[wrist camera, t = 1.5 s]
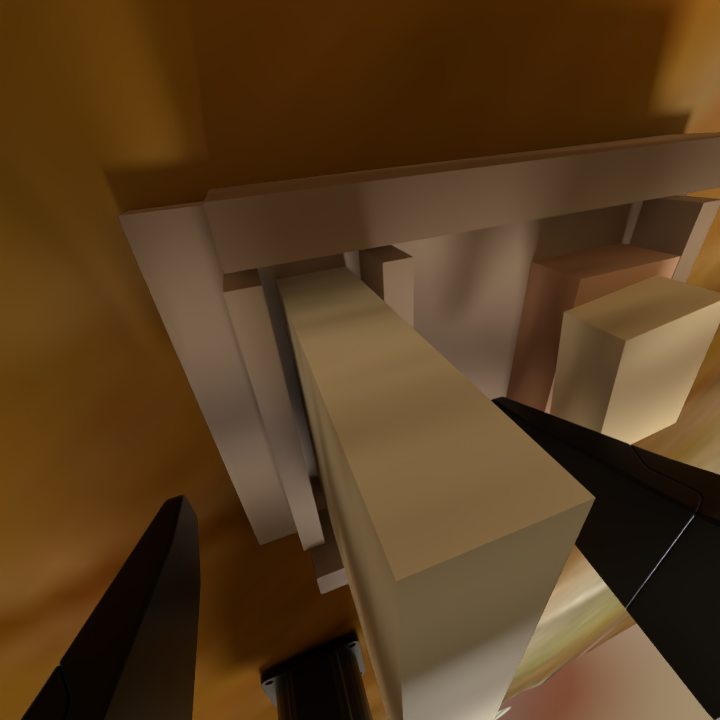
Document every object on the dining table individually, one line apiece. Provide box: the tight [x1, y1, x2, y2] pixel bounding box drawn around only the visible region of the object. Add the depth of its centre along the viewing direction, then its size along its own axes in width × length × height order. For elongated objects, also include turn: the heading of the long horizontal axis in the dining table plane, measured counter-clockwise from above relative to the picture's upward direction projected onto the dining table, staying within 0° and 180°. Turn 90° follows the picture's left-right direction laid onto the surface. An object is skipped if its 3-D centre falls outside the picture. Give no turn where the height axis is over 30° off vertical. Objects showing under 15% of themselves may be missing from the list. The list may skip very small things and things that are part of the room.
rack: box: [117, 132, 720, 595], centre depth 12 cm, size 14×18×3 cm
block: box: [275, 267, 595, 720], centre depth 9 cm, size 9×2×8 cm, turn 5°
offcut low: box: [506, 243, 680, 414], centre depth 13 cm, size 7×4×2 cm, turn 5°
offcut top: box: [550, 275, 720, 445], centre depth 11 cm, size 5×4×2 cm
